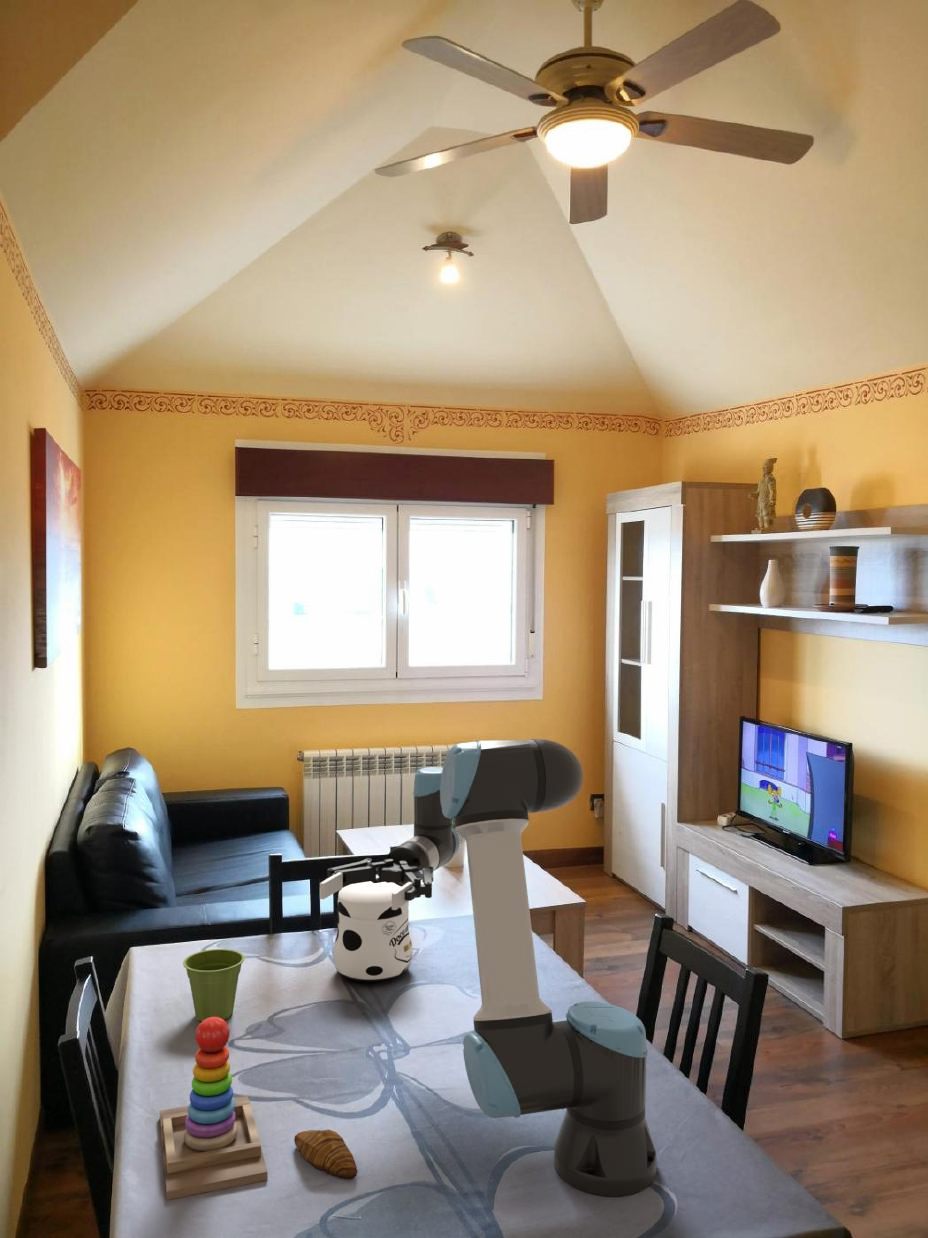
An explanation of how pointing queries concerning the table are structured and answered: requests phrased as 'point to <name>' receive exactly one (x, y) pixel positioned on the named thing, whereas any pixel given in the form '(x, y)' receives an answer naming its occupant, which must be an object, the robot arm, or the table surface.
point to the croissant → (326, 1153)
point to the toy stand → (210, 1155)
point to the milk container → (371, 933)
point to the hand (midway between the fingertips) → (357, 896)
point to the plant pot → (214, 981)
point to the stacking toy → (211, 1090)
